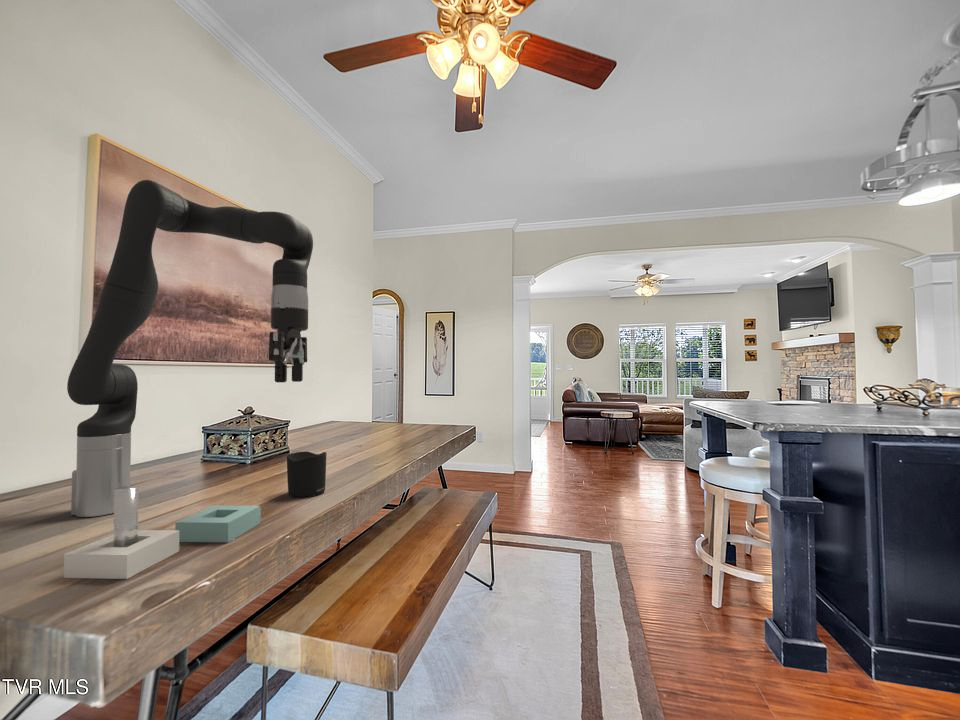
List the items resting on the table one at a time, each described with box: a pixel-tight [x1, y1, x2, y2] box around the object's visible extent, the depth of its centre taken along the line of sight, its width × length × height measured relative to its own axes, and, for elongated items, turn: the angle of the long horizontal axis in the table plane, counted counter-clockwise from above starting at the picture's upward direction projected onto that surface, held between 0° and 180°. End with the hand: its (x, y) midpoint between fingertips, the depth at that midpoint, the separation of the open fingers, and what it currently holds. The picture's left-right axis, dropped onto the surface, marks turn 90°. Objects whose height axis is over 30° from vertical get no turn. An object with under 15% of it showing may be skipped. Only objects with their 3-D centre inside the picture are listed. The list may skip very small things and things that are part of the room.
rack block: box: [174, 505, 262, 543], centre depth 82 cm, size 10×10×4 cm
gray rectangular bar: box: [113, 485, 140, 547], centre depth 68 cm, size 3×3×12 cm
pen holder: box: [286, 451, 327, 499], centre depth 109 cm, size 9×9×10 cm
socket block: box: [63, 529, 180, 580], centre depth 68 cm, size 10×10×4 cm
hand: (289, 382), depth 93 cm, fingers open, 8 cm apart
